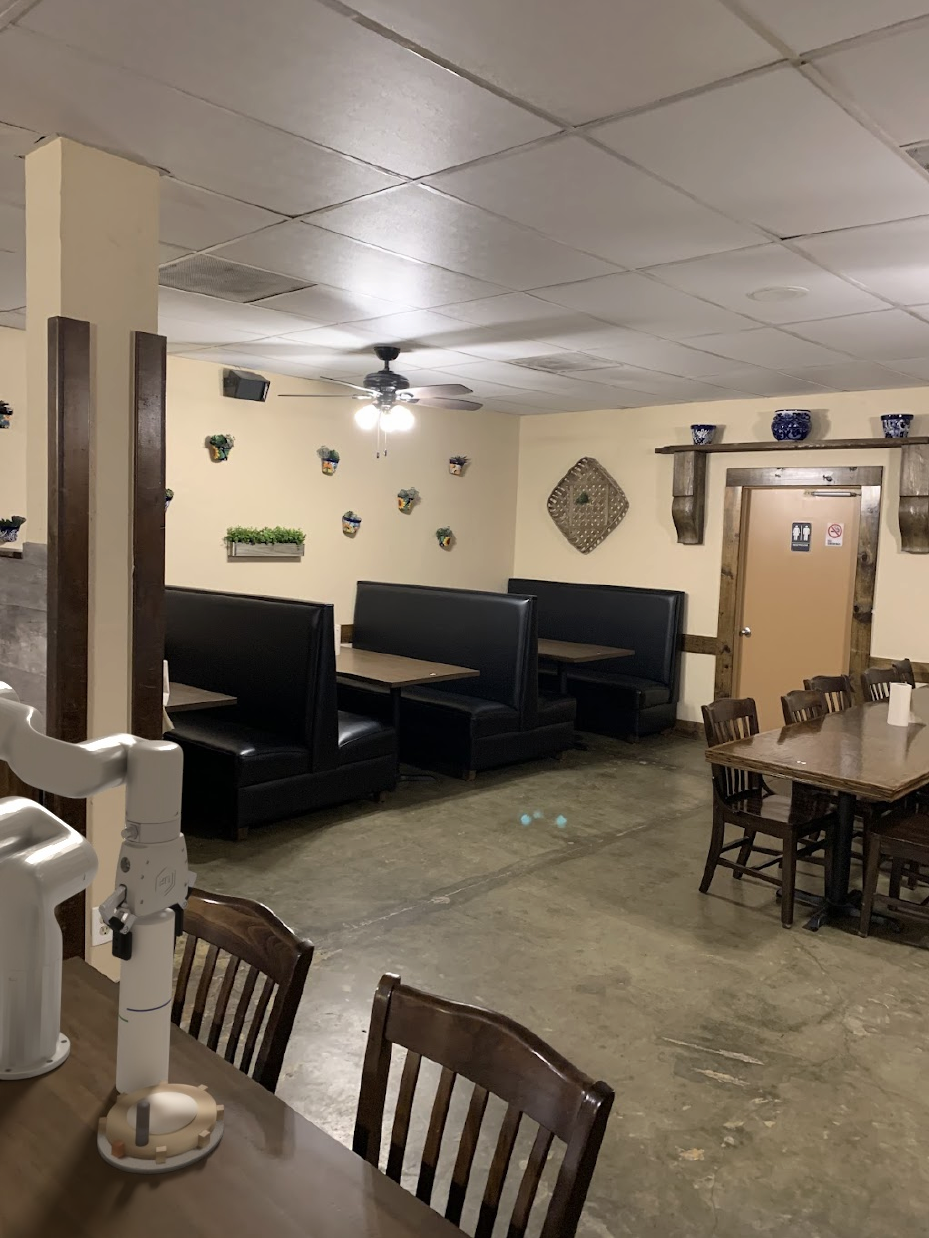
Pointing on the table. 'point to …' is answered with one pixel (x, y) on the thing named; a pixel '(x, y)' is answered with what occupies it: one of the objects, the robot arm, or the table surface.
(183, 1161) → the dial base
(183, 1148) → the dial
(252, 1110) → the table surface
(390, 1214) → the table surface
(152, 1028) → the cylindrical container
